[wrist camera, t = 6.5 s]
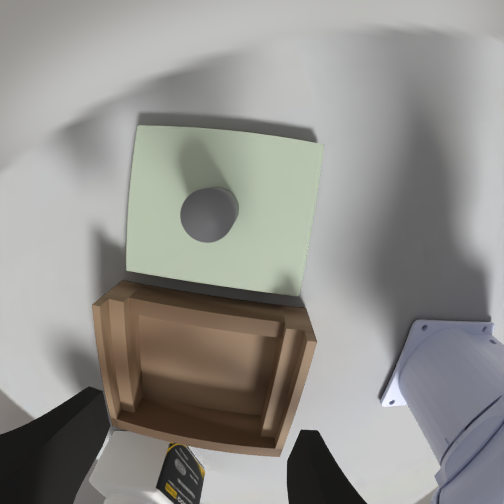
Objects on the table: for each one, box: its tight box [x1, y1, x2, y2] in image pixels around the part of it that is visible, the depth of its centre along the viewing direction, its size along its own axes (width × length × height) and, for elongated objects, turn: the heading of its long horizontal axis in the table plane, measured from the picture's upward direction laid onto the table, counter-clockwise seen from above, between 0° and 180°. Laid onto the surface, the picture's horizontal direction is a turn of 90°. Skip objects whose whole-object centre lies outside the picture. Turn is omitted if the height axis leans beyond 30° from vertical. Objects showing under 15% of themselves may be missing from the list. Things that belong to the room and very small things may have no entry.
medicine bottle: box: [89, 431, 205, 504], centre depth 17 cm, size 7×7×12 cm
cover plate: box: [126, 125, 324, 296], centre depth 14 cm, size 9×10×4 cm
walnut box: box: [92, 280, 317, 457], centre depth 17 cm, size 10×12×4 cm
